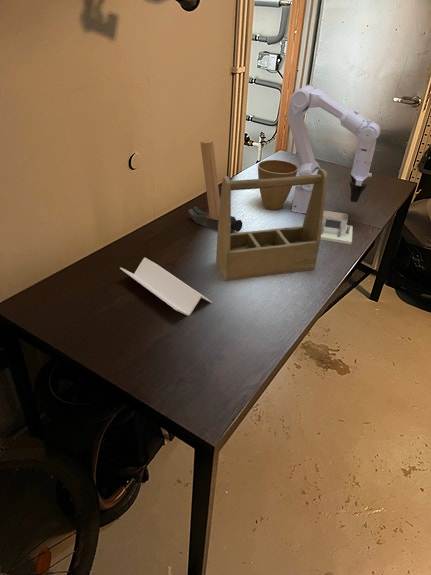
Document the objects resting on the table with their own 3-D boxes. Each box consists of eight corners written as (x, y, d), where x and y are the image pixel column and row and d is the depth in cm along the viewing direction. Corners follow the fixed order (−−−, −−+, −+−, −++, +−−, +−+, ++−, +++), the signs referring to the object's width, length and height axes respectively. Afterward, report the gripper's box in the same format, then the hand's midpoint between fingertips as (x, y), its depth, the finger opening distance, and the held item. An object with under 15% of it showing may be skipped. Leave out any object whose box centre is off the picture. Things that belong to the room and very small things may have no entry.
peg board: (306, 237, 149) (308, 228, 147) (310, 222, 158) (312, 213, 156) (351, 244, 146) (353, 235, 144) (352, 228, 155) (354, 219, 153)
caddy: (224, 282, 125) (230, 184, 108) (215, 262, 134) (218, 169, 116) (315, 270, 132) (334, 176, 114) (300, 252, 140) (316, 163, 123)
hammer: (190, 226, 157) (177, 141, 142) (198, 221, 160) (187, 138, 146) (234, 234, 145) (225, 143, 131) (243, 229, 149) (235, 139, 134)
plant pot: (292, 215, 162) (298, 175, 152) (252, 212, 163) (256, 171, 154) (292, 199, 174) (297, 161, 164) (255, 196, 175) (259, 157, 166)
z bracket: (146, 281, 132) (157, 264, 132) (200, 321, 117) (212, 302, 117) (119, 268, 122) (131, 249, 122) (175, 310, 107) (189, 289, 107)
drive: (317, 231, 150) (320, 215, 147) (319, 225, 154) (322, 210, 150) (344, 235, 148) (347, 219, 145) (344, 229, 152) (348, 214, 149)
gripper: (375, 169, 140) (365, 207, 148) (374, 155, 151) (365, 191, 159) (353, 166, 141) (344, 204, 149) (354, 152, 153) (346, 188, 161)
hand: (354, 197), depth 154 cm, fingers open, 7 cm apart
